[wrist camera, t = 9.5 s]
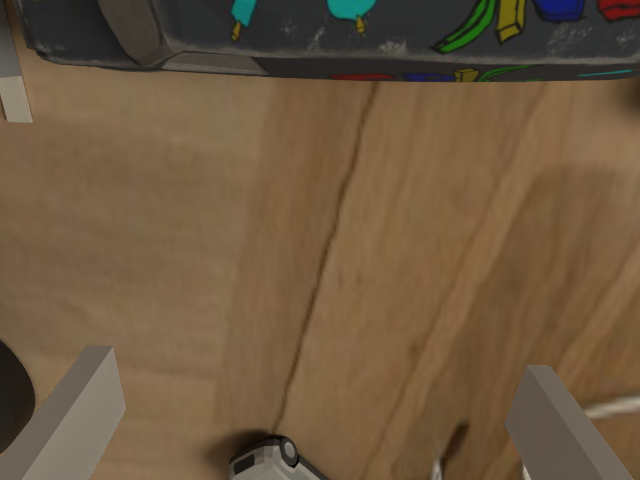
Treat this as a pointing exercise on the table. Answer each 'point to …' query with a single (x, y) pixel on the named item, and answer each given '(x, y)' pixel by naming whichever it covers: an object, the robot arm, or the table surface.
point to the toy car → (272, 463)
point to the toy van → (343, 38)
